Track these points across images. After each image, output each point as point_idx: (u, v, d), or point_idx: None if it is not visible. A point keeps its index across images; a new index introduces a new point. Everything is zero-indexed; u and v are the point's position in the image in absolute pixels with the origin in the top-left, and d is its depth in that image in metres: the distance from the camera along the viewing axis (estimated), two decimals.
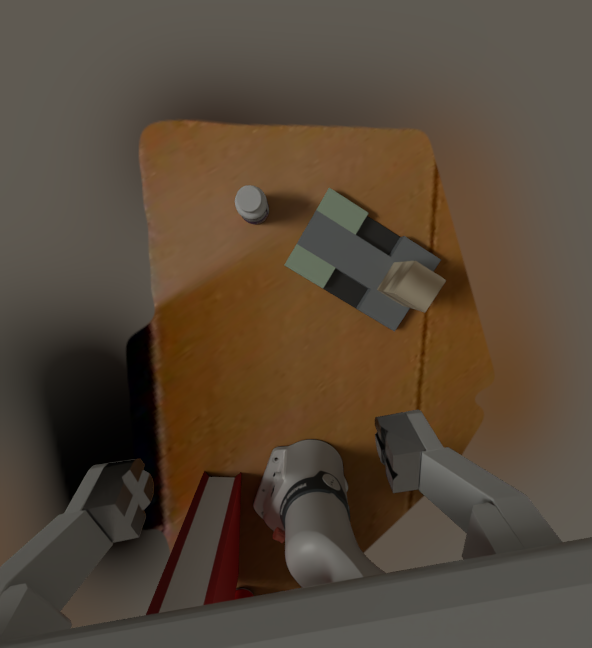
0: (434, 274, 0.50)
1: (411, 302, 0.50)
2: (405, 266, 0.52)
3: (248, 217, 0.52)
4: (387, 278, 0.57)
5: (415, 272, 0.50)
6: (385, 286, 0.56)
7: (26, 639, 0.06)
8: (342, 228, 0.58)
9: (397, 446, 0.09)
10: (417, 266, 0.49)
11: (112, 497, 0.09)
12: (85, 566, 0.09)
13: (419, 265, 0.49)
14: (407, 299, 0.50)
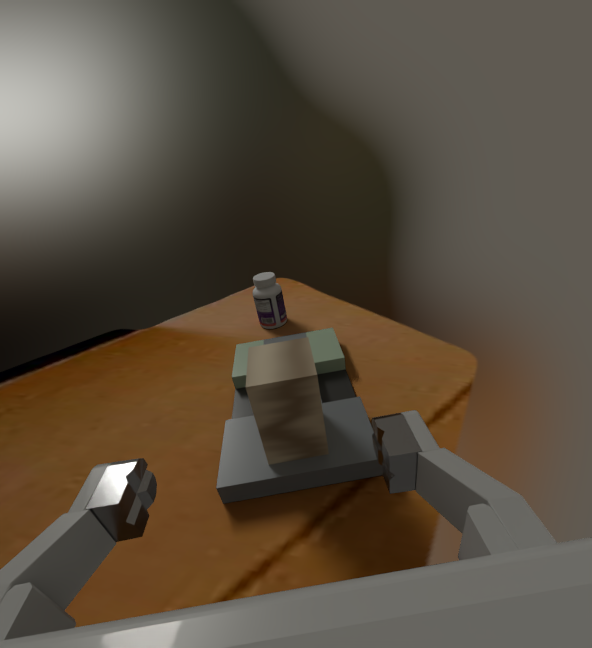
0: (311, 359, 0.28)
1: (249, 366, 0.28)
2: None
3: (253, 293, 0.57)
4: None
5: (293, 345, 0.30)
6: None
7: (26, 639, 0.06)
8: None
9: (393, 447, 0.09)
10: (303, 342, 0.30)
11: (116, 496, 0.09)
12: (89, 565, 0.09)
13: (306, 342, 0.30)
14: (250, 360, 0.29)
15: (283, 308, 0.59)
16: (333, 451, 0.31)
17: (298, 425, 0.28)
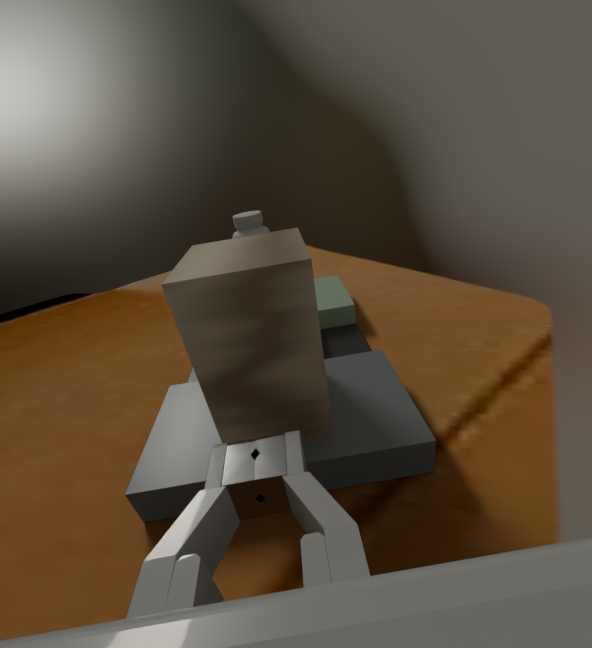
0: (300, 245, 0.14)
1: (183, 261, 0.15)
2: None
3: (233, 236, 0.43)
4: None
5: (271, 236, 0.17)
6: None
7: (26, 639, 0.06)
8: None
9: (262, 470, 0.09)
10: (288, 232, 0.17)
11: (248, 473, 0.09)
12: (224, 542, 0.09)
13: (293, 232, 0.17)
14: (188, 256, 0.16)
15: None
16: (341, 429, 0.17)
17: (277, 375, 0.15)
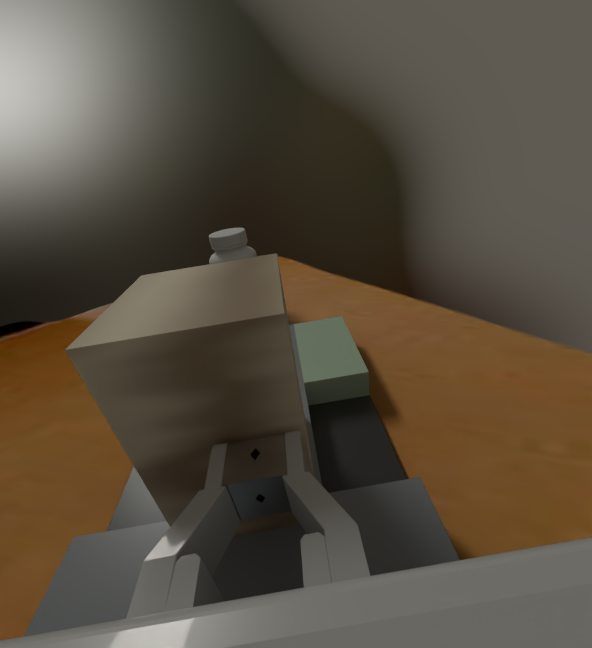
0: (274, 285, 0.10)
1: (116, 304, 0.11)
2: None
3: (210, 260, 0.34)
4: None
5: (241, 266, 0.13)
6: None
7: (26, 639, 0.06)
8: (296, 361, 0.24)
9: (262, 470, 0.09)
10: (263, 260, 0.13)
11: (248, 473, 0.09)
12: (224, 542, 0.09)
13: (270, 260, 0.13)
14: (127, 294, 0.12)
15: None
16: None
17: None
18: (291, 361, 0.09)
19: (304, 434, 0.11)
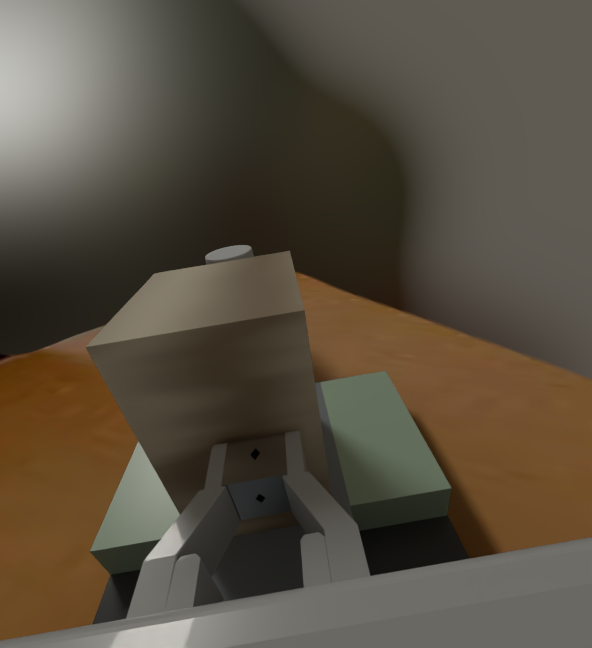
0: (290, 282, 0.10)
1: (132, 302, 0.11)
2: None
3: None
4: None
5: (254, 263, 0.13)
6: None
7: (26, 639, 0.06)
8: (332, 455, 0.16)
9: (261, 470, 0.09)
10: (276, 258, 0.13)
11: (248, 473, 0.09)
12: (224, 542, 0.09)
13: (283, 258, 0.13)
14: (142, 292, 0.12)
15: None
16: None
17: None
18: (309, 358, 0.09)
19: (320, 431, 0.11)
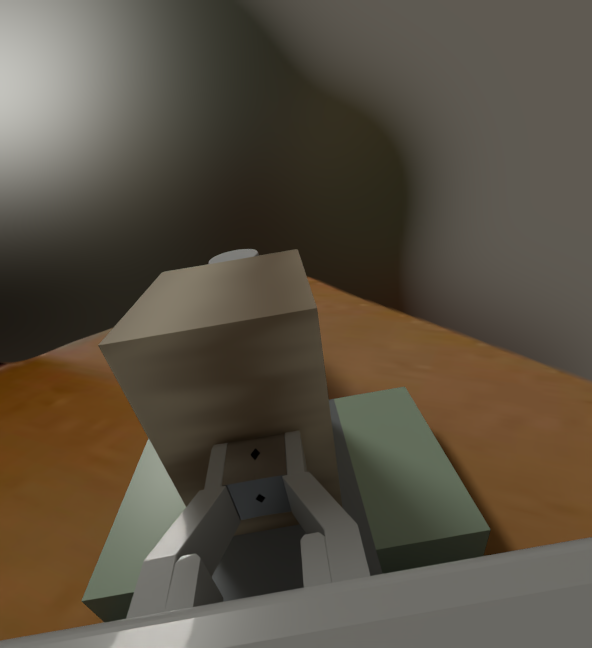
0: (300, 280, 0.10)
1: (142, 300, 0.11)
2: None
3: None
4: None
5: (262, 262, 0.13)
6: None
7: (26, 639, 0.06)
8: (351, 486, 0.14)
9: (262, 469, 0.09)
10: (285, 256, 0.13)
11: (248, 473, 0.09)
12: (224, 542, 0.09)
13: (292, 256, 0.13)
14: (151, 291, 0.12)
15: None
16: None
17: None
18: (321, 356, 0.09)
19: (331, 429, 0.11)
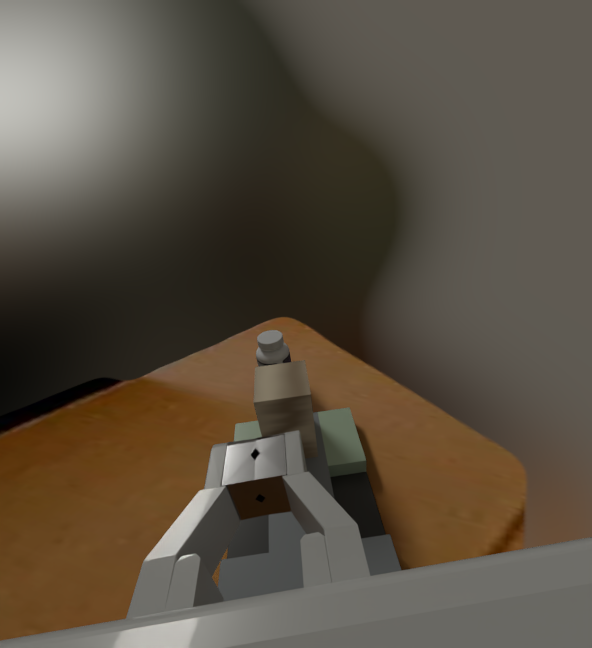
0: (306, 381, 0.34)
1: (256, 384, 0.35)
2: None
3: (257, 355, 0.49)
4: None
5: (292, 367, 0.37)
6: None
7: (26, 639, 0.06)
8: (322, 447, 0.39)
9: (262, 469, 0.09)
10: (300, 364, 0.37)
11: (248, 473, 0.09)
12: (224, 542, 0.09)
13: (302, 365, 0.37)
14: (257, 379, 0.36)
15: None
16: None
17: None
18: (311, 405, 0.33)
19: None
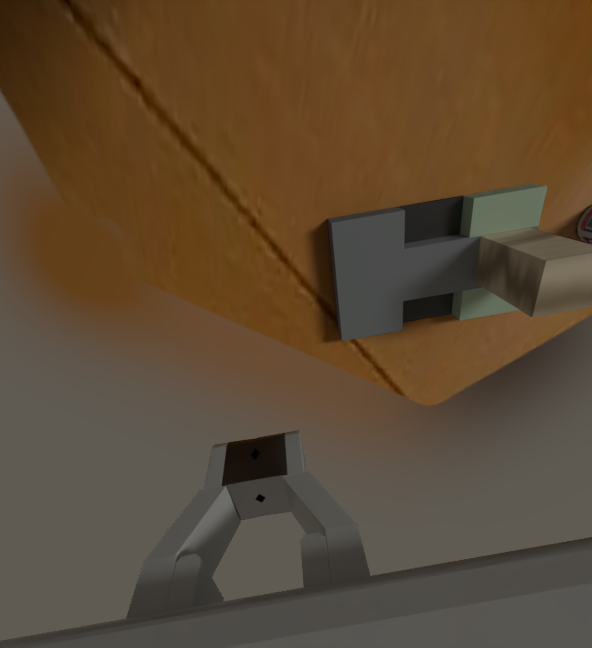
0: (553, 311, 0.32)
1: (575, 257, 0.29)
2: None
3: None
4: None
5: (584, 295, 0.31)
6: None
7: (26, 639, 0.06)
8: None
9: (262, 470, 0.09)
10: (584, 303, 0.32)
11: (248, 473, 0.09)
12: (224, 542, 0.09)
13: (581, 306, 0.32)
14: (584, 256, 0.29)
15: None
16: (352, 310, 0.41)
17: (501, 277, 0.35)
18: (521, 309, 0.33)
19: (501, 298, 0.36)
